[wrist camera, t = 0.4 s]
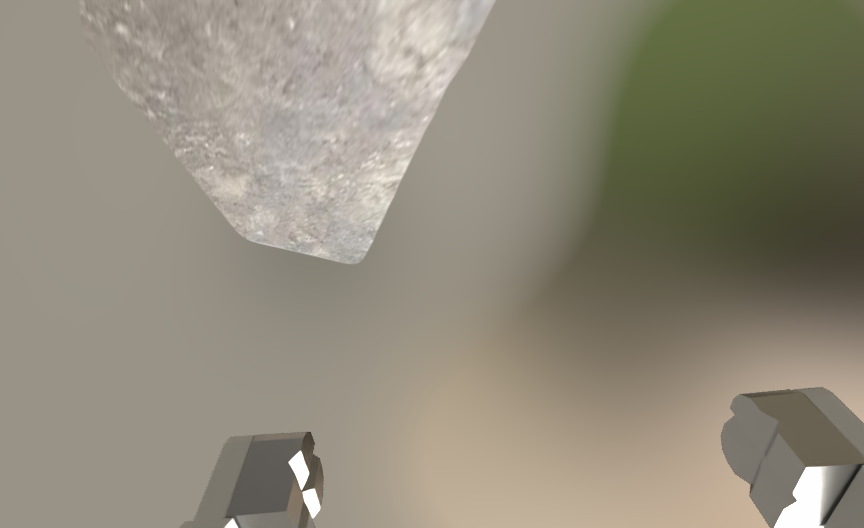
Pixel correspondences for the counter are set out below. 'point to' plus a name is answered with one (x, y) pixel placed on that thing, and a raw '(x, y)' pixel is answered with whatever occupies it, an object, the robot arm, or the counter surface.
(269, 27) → the counter surface
